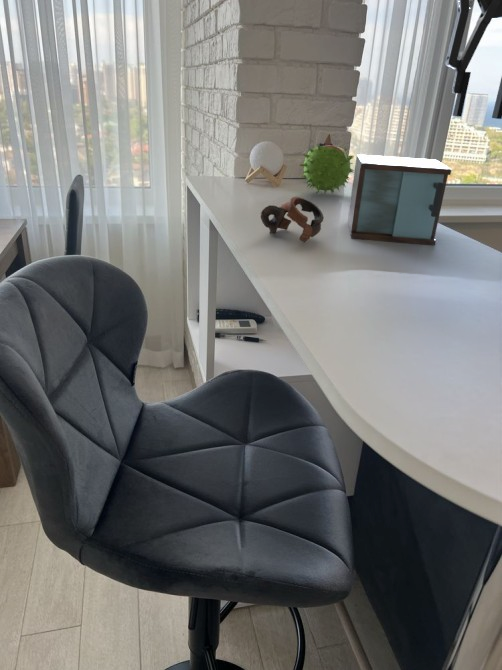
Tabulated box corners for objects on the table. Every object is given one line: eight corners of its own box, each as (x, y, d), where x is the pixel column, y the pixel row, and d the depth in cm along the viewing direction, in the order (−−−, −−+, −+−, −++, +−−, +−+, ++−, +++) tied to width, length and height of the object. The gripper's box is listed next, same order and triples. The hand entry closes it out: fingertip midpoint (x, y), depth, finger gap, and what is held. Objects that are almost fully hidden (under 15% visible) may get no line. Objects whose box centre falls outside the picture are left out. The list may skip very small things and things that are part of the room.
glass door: (429, 239, 97) (444, 172, 92) (434, 245, 93) (449, 176, 88) (392, 236, 98) (403, 169, 93) (395, 242, 94) (407, 173, 89)
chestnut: (282, 158, 132) (307, 141, 142) (300, 209, 138) (323, 189, 148) (332, 141, 123) (355, 124, 133) (349, 196, 128) (371, 177, 138)
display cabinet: (422, 227, 109) (436, 159, 103) (435, 245, 97) (451, 169, 90) (347, 221, 110) (356, 154, 104) (350, 238, 98) (361, 163, 92)
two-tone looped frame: (295, 229, 104) (317, 197, 99) (311, 261, 99) (335, 230, 93) (246, 218, 97) (266, 183, 92) (260, 252, 92) (282, 217, 87)
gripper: (456, -64, 71) (423, 114, 81) (595, -60, 69) (544, 122, 80) (444, -51, 78) (415, 112, 88) (571, -47, 76) (526, 119, 86)
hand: (476, 116), depth 84 cm, fingers open, 6 cm apart
